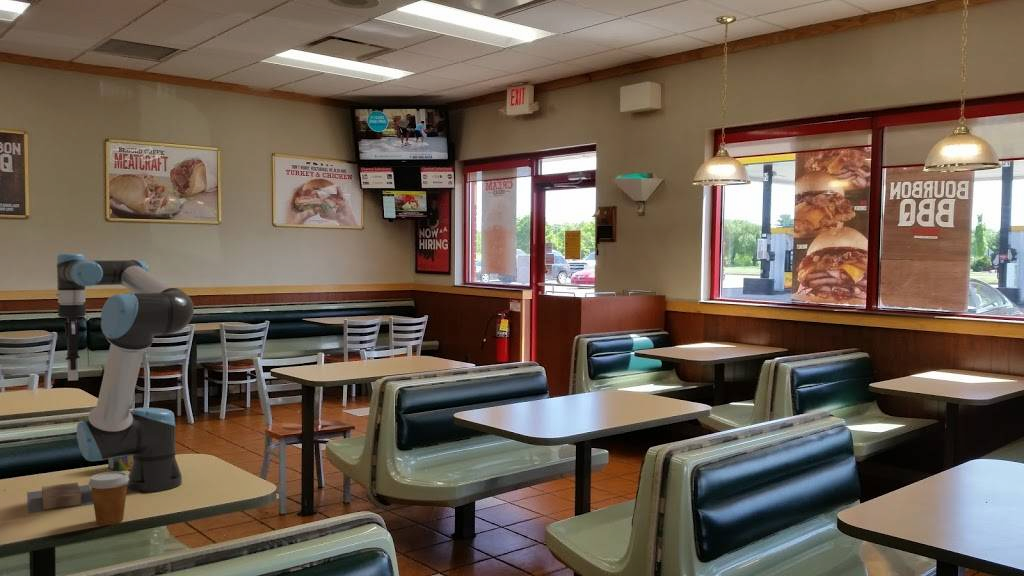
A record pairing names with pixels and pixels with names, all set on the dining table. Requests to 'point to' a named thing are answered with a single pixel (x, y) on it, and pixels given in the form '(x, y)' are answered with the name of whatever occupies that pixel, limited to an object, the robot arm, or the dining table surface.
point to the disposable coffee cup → (109, 496)
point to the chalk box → (121, 463)
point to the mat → (37, 506)
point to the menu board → (61, 495)
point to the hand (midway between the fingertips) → (73, 379)
